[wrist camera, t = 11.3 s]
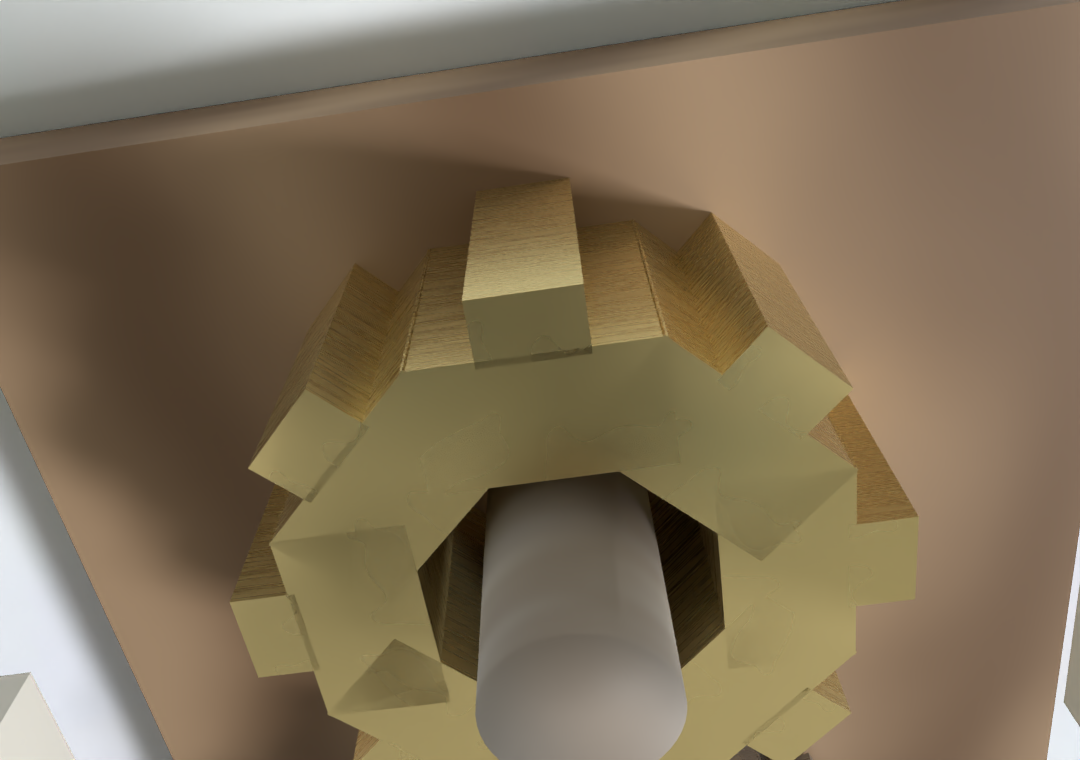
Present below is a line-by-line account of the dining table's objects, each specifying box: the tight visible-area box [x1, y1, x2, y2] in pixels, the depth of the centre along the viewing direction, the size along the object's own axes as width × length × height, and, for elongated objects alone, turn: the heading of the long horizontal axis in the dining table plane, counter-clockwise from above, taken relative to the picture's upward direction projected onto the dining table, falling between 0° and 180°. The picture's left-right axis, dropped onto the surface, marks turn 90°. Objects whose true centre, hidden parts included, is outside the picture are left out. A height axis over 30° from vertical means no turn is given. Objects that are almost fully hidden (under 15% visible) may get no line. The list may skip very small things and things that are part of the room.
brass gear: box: [230, 178, 919, 760], centre depth 15 cm, size 9×9×4 cm
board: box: [0, 0, 1080, 760], centre depth 18 cm, size 18×22×8 cm
